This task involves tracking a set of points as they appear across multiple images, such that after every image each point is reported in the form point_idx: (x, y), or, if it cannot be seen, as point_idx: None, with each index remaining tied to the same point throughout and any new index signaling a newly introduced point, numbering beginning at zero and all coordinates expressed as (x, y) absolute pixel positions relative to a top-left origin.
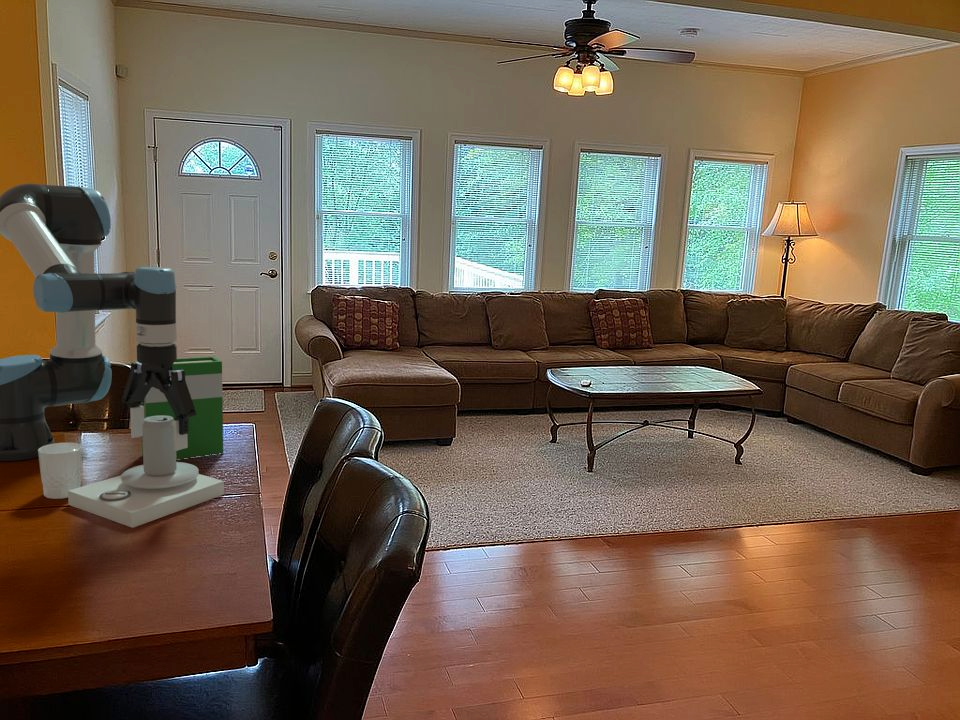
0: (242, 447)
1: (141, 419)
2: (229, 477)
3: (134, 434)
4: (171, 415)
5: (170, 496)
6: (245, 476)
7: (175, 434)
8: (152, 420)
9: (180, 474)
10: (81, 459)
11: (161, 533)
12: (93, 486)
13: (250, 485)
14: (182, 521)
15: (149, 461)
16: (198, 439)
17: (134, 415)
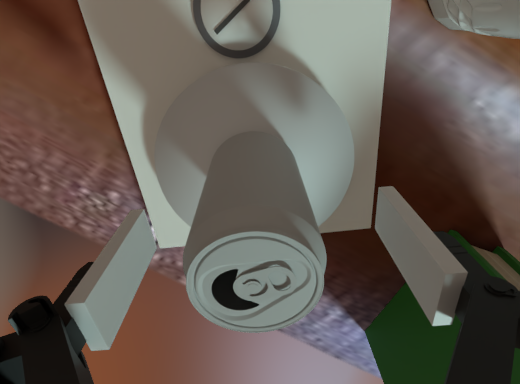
0: (367, 363)
1: (403, 263)
2: None
3: (383, 198)
4: None
5: (135, 118)
6: None
7: (107, 248)
8: (245, 256)
9: None
10: (502, 29)
11: (10, 7)
12: (364, 11)
13: (181, 280)
14: (65, 89)
15: (235, 147)
16: (406, 335)
17: (422, 253)
